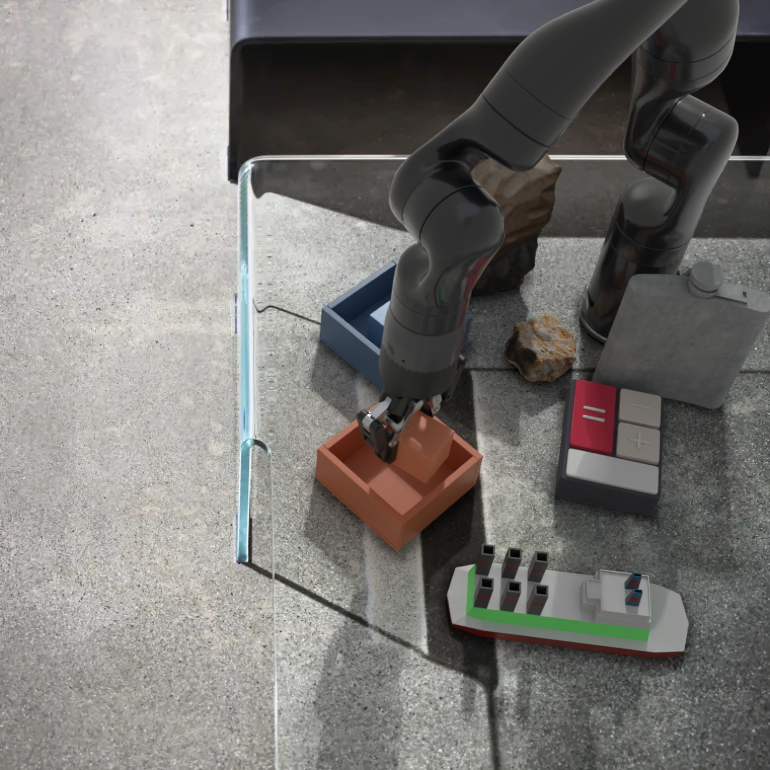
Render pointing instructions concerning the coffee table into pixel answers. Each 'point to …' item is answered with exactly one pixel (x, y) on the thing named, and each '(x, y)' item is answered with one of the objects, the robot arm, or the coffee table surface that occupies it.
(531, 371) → the rock
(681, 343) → the hip flask
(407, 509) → the terracotta bin
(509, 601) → the toy boat
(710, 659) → the coffee table surface
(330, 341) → the blue bin
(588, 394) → the calculator
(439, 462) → the terracotta block
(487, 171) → the tall brown boulder
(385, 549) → the coffee table surface
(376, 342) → the blue block
